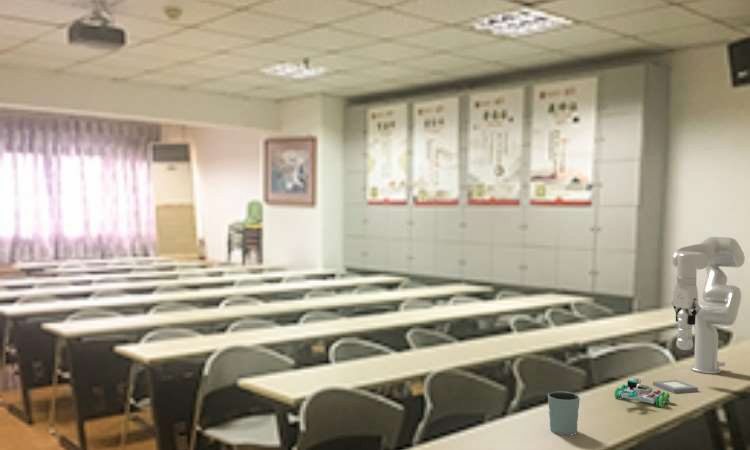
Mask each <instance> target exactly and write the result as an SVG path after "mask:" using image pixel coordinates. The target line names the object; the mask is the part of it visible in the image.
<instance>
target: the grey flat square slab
mask: <svg viewBox="0 0 750 450" xmlns="http://www.w3.org/2000/svg"><path fill="white" fill-rule="evenodd" d="M652 386H655V387H656V388H658V389H659V388H660V389H662V390H665V391H667V392H668V393H672V394H680V393H690V392H691V393H692V392H698V391H699V387H697V386H694V385H691V384H690V383H686V382H683V381H681V380H678V379H672V380H661V381H660V380H659V381H657V380H656V381H653V382H652Z"/></svg>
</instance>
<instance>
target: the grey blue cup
mask: <svg viewBox="0 0 750 450" xmlns="http://www.w3.org/2000/svg"><path fill="white" fill-rule="evenodd" d="M547 400H548V401H547V402H548V409H549V411H548V414H549V416H548V417H549V430H550V432H551V433H553V434H556V435H559V434H561V435H560V436H565V435H570V436H572V435H571V434H575V433H576V434H577V433H578V421H579V408H580V400H581V397H580V395H579V394H577V393H574V392H570V391H560V390H559V391H557V390H556V391H551V392H548V393H547ZM562 434H563V435H562ZM576 434H575V435H576Z"/></svg>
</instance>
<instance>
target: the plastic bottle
mask: <svg viewBox="0 0 750 450" xmlns="http://www.w3.org/2000/svg"><path fill="white" fill-rule="evenodd" d="M688 315H690V314H689V311H688V309H685V308H681V310H680V311H679V312H678V314H677V317H678V322H677V327H678V328H677V329H678V330H677V338H676V347H677V349H679V350H684V351H689V350H692V349H693V346H694V342H693V335H692V331H693V325H689V324H688Z"/></svg>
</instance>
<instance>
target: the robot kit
mask: <svg viewBox="0 0 750 450" xmlns="http://www.w3.org/2000/svg"><path fill="white" fill-rule="evenodd" d="M613 395H614V398H615V399H620V398H621V399H622V398H623V399H629V400H634V401H639V402H644V403H649V404H652V405H654V404H655V405H656V407H659V408H663V407H664V406H665V404H666V403H667V404H669V403H670V400H671V399H670V397H671V396H670V392H668V391H667V392H665V391H664V392H662V391H661V390H660V389H659V388H655V389H654V390H653V387H651V386H649V385H645V384H642V382H641V379H639V378H638V377H633V379H627V384H624V383H623V384H621V385H620V387H615V389H614V394H613ZM621 399H620V400H621Z"/></svg>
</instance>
